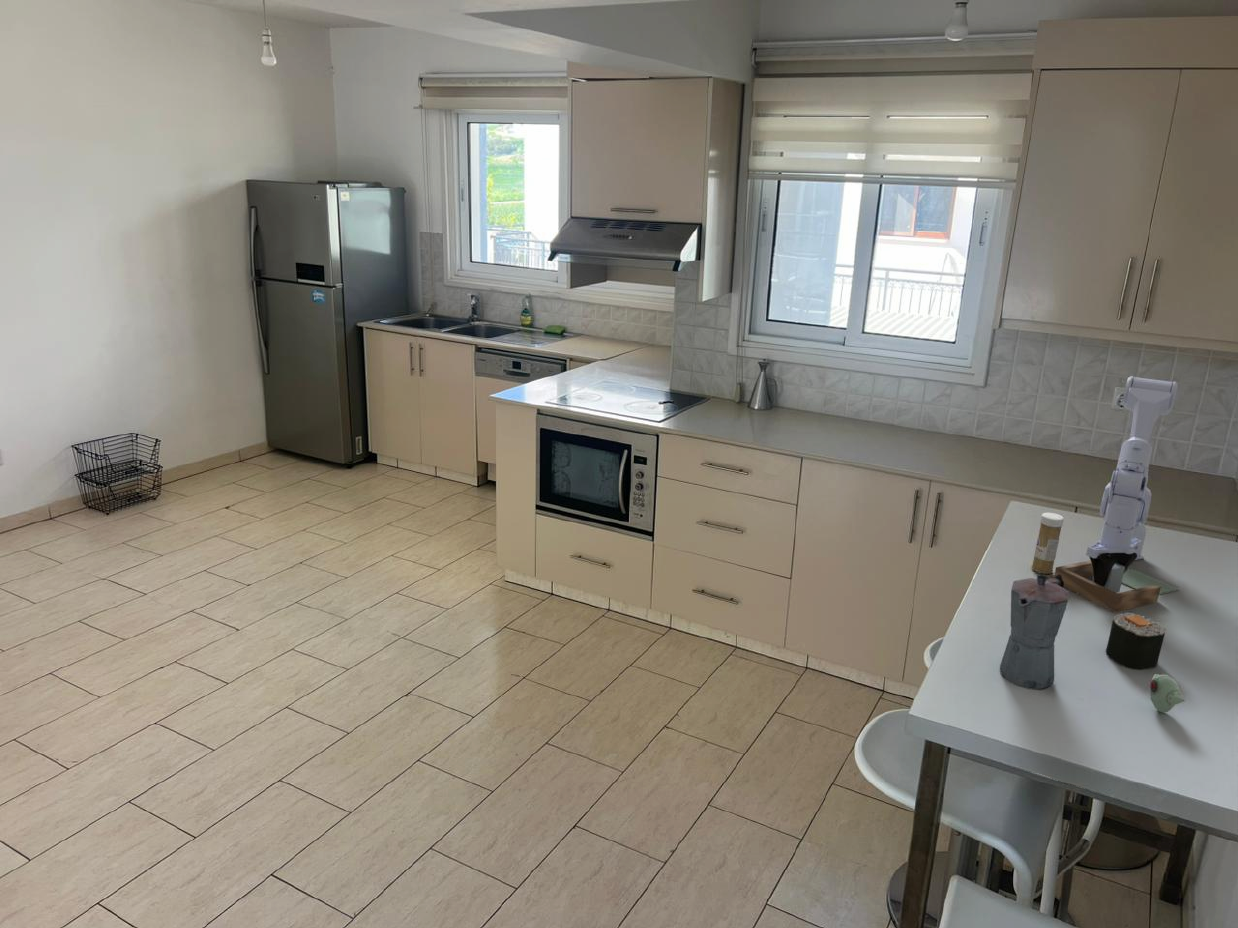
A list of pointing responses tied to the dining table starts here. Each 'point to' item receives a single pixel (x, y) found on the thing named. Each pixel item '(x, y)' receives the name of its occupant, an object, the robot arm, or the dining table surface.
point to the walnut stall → (1101, 595)
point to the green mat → (1144, 581)
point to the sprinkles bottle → (1047, 543)
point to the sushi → (1135, 641)
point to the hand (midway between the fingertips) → (1106, 582)
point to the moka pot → (1034, 631)
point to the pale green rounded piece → (1164, 693)
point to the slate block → (1114, 578)
